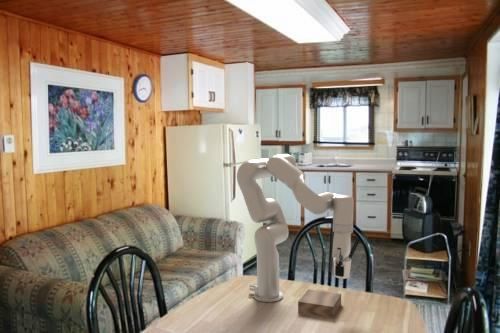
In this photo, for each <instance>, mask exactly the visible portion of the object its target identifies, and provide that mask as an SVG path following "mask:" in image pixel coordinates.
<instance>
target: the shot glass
mask: <svg viewBox="0 0 500 333" xmlns="http://www.w3.org/2000/svg"><path fill="white" fill-rule="evenodd" d="M335 258H336V257H335ZM335 258H333V257H332V259H333V272H334V273H333V274H334V275H333V276H334V277H335V278H337V279H340V280H341V279H344V280H345V279H348V278H350V275H351V265H352V258H351V257H346V258H345V259H344V263H343V266H344V276H343V277H340V276H336V275H335V263H336V260H335ZM340 258H342V257H341V256H340ZM340 261H341V262H342V260H340Z"/></svg>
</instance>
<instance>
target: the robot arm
mask: <svg viewBox="0 0 500 333" xmlns="http://www.w3.org/2000/svg"><path fill="white" fill-rule="evenodd" d="M296 162H297V161H296V159H295V158H294V156H292V155H290V154H288V153H282V154H275V155H272V156H271V157H264V158H256V159H251V160H250V159H249V160H246V161H244V162H243V163H242V164H241V165H240V166H239V167H238V169H237V171H236V181H237V185H238V187H239V189H240V191H241V194H242V196H243V200H244V203H245V205H246V207H247V208H246V209H247V211H248V214H249V218H250V219H251V220H252V222H254V223H255V224H256V223H257V224H262V223H264V222H266V223H265V224H263V225H261V226H259V227H258V228H257V229H256V230H255V232H254V235H253V236H254V243H255V244H254V245H255V250H256V276H257V277H256V282H257V284H252V283H251V284H249V291H253V292H254V293H253V298H254V299H255V300H256V301H259V302H261V303H262V302H263V303H273V302H279V301H280V300H283V298H284V293H283V291H281V290H280V257H279V256H280V255H279V251H278V249H277V245H279V244H281V243H283V242H286V240H287V239H288V237H289V232H290V231H289V226H288V223H287V220H286V218H285V216H284V213H283V210H282V207H281V205H280V203H279V202H278V201H277V200H275V199H274V198H270V197H268V198H267V197H265V194H264V193H263V192H264V191H263V189H262V188H261V186H260V185H259V183H258V182H257V180H259V179H265V178H269V177H270V178H271V177H275V179H277V180H279V181H280V182H281V183H282V184H283V185H284V186H286V187H287V188H289V189H290V191H291V193H292V194H293V196H294V198H295V200H296V201H297V203H299V204H300V205H301V206H302V207H303V208H305V209H306V210H307V211H308V212H310V213H312V214H313V215H318V216H319V215H321V216H322V215H323V214H326V213H330V212H332V213H333V214H332V232H333V233H334V234H333V242H332V251H331V252H332V254H331V256H332V259H333V258H335V257H336V258H335V260H336V263H335V275H336V276H340V277H343V276H344V266H343V263H344V259H345V258H346V257H349V256H350V254H351V246H352V245H351V244H352V241H351V240H352V237H351V235H352V233H354V207H355V206H354V205H355V204H354V203H355V202H354V201H355V200H354V197H353V196H352V195H348V194H337V193H334V192H330V191H326V192H323V193H319V194H318V193H316V192H314V191H313V190H312V189H311V188H310V187H309V186H308V185H307V184H306V182H305V179H306V174H305V173H304V172H303V171H302V170H300V169H299V168H298V167H297V163H296ZM340 256H341V257H342V258H340ZM349 258H350V257H349ZM340 260H342V262H341V261H340ZM335 275H334V276H335Z"/></svg>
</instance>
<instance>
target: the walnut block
mask: <svg viewBox="0 0 500 333" xmlns="http://www.w3.org/2000/svg"><path fill="white" fill-rule="evenodd" d="M341 305H342V293H338V292H337V293H336V292H330V291H323V290H316V289H315V290H314V289H310V288H308V289H307V290H306V291H305V293H304V294H303V295H302V296H301V297H300V298H299V299H298V300H297V312H298V314H303V315H304V314H305V315H309V316H316V317H322V318H329V319H334V317H335V316H336V315H337V312H338V311H339V309H340V307H341Z"/></svg>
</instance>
